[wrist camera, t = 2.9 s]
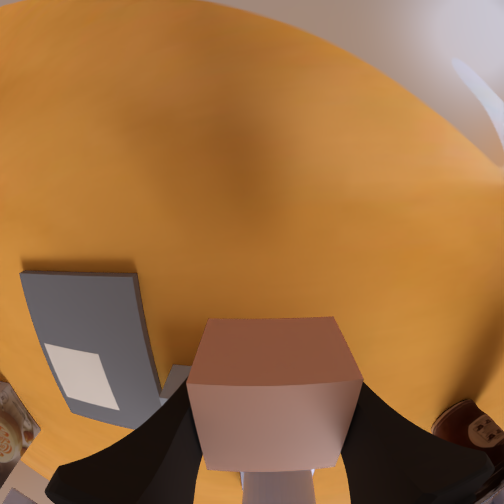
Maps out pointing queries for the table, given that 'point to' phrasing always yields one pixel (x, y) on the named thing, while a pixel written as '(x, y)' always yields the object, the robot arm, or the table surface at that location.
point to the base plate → (95, 343)
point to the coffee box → (13, 430)
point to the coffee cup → (475, 440)
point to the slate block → (174, 381)
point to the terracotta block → (273, 393)
